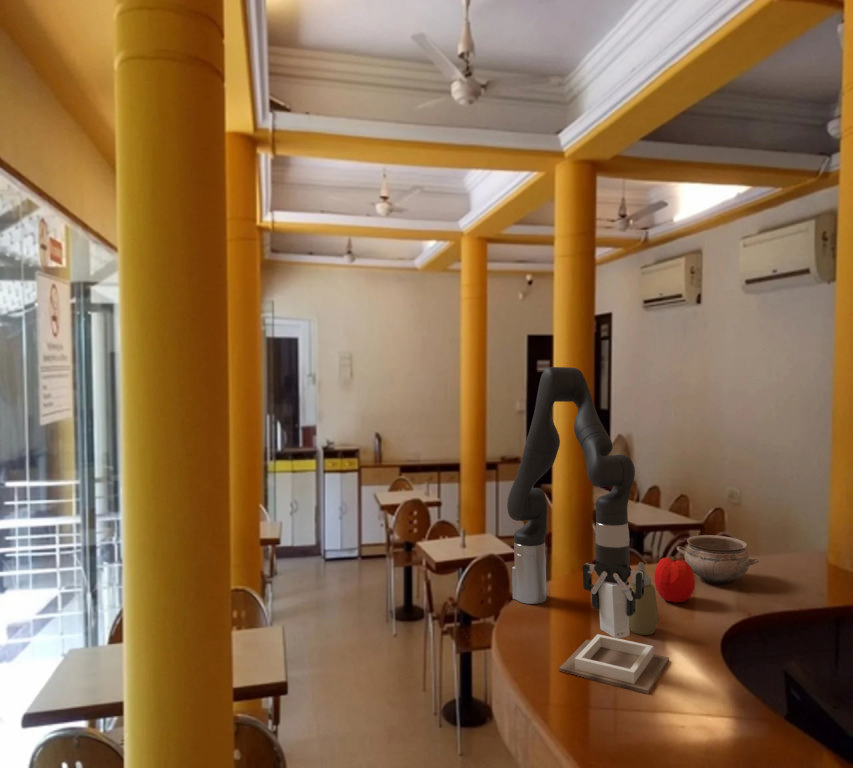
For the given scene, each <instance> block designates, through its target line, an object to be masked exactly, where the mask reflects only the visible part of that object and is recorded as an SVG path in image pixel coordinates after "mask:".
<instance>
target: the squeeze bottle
mask: <svg viewBox="0 0 853 768" xmlns="http://www.w3.org/2000/svg"><path fill="white" fill-rule="evenodd" d="M640 570H642V571H644V595H643V596H642V597H641V599H635V606H636V611H635V613H634V614H633V615H632V616H629V629H630V631H631V632H632V633H634V634H637V635H644V636H647V635H652V634H654V633H655V631H656V628H657V625H658V621H659V620H660V619H659V618H660V617H659V611H658V603H657V594H656V586H654V585H653V584H652V577H651V576H650V575H647V571H646V568H645V564H644V562H641V561H640V562H638V565H637V570H636V571H640ZM631 579H632V580H631V582H630V583H631V585H632V588H633V590H634V592H636V581H635V580H634V579H633V576H631Z"/></svg>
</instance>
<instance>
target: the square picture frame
mask: <svg viewBox="0 0 853 768" xmlns="http://www.w3.org/2000/svg"><path fill="white" fill-rule="evenodd" d="M591 640H592V641H591V642H590V643H589V644H588V645H587V646H586V647H585V648H584V649H583V650H582V651H581V652H580V653H579V654H578V655H577V657H576V658H575V669H576V670H580V671H584V672H588V673H592V674H596V675H600V676H604V677H608V678H612V679H616V680H620V681H624V682H628V683H632V684H635V682H636V681H637V679H638V678H639V676H640V675H641V673H642V672H643V670H644V669H645V668H646V666H647V665H648V663H649V662H650V660H651V659H652V657H653V654H654V646H653V645H650V644H645V643H641V642H638V641H637V642H635V641H631V640H627V639H626V640H625V639H622V638H614V637H612V636H609V635H608V636H607V635H603V634H599V633H598V634H596V635H595V636H594V637H593V639H591ZM600 647H603V648H607V649H612V650H616V651H621V652H625V653H630V654H634V655H639V658H638V659H637V660H636V662H635V663H634V664H633V666H632V667H631V668H630V669H628V668H624V667H619V666H615V665H611V664H607V663H602V662H598V661H594V660H590V659H591V658H592V656H593V655H594V654H595V653H596V652H597V651H598V650H599V649H600Z"/></svg>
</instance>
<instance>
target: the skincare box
mask: <svg viewBox="0 0 853 768" xmlns="http://www.w3.org/2000/svg"><path fill="white" fill-rule="evenodd" d="M625 585H626V586H627V584H626V583H625ZM598 595H599V609H598V611H599V628H600V630H601V631H602V632H604V633H606V634H607V635H608V636H610V637H613V638H618V639H622V638H625V637H630V634H631V632H630V631H631V630H630V625H629V616H627V600H628V598H627V596H626V594H625V593H624V592H623V591H622V589H621V588H620V585H619V584H618V583H612V582H603V583H602V585H601V586H600V588H599V589H598Z"/></svg>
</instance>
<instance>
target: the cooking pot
mask: <svg viewBox="0 0 853 768" xmlns="http://www.w3.org/2000/svg"><path fill="white" fill-rule="evenodd" d="M686 542H687V543H688V545H687V547H683V546H679V545H678V546H676V550H677V551H678V552H679V553H680V554H681V555H683V556H684V560H685V561H686V562H687V563H688V564H689V565H690V566H691V568H692V570H693V573H694V574H695V575H697V576H698V577H700V578H702V579H703V580H705V581H707V582H709V583H711V584H716V585H724V584H728V583H729V582H732V581H735V580H737V579H739V578H741V577H743V576H745V574H746V573H747V572H748V570H749V568H750V566H752V565H756V564H758V563H759V562H760V559H759V558H755V559H752V558H750V557H749V554H748V551H747V549H746V547H747V546H748V545H747V542H745V541H744V540H741V539H738V538H736V537H730V536H723V535H713V534H709V535H708V534H703V535H702V534H701V535H694V536H691V537H688V538H687V539H686Z"/></svg>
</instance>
